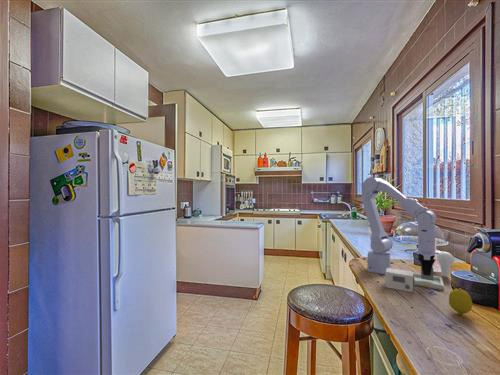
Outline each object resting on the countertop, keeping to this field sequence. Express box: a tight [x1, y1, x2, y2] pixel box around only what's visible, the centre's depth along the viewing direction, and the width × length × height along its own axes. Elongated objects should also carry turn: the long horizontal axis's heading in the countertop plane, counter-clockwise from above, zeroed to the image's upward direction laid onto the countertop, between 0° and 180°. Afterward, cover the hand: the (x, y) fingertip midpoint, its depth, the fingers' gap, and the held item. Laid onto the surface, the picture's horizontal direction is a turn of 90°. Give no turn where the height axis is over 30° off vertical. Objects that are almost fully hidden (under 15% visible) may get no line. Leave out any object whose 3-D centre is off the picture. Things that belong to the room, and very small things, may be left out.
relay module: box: [420, 264, 434, 281], centre depth 102 cm, size 4×4×5 cm
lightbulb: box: [437, 251, 455, 278], centre depth 109 cm, size 6×6×11 cm
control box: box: [385, 267, 415, 293], centre depth 98 cm, size 10×6×6 cm
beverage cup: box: [433, 240, 443, 273], centre depth 118 cm, size 6×6×14 cm
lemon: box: [448, 287, 473, 315], centre depth 77 cm, size 6×6×8 cm
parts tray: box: [413, 272, 445, 291], centre depth 102 cm, size 11×11×2 cm
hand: (426, 273), depth 102 cm, fingers closed on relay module, 4 cm apart
